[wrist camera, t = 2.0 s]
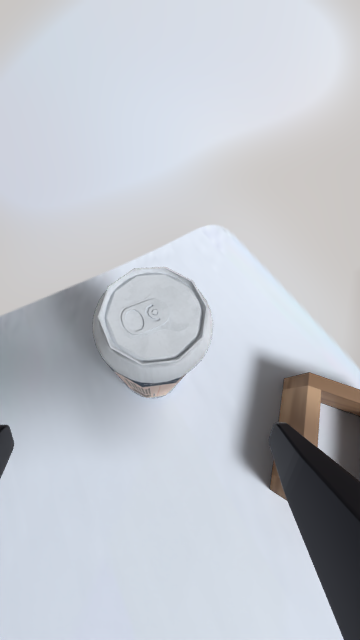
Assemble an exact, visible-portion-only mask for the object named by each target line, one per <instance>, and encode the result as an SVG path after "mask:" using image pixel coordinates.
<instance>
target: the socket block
mask: <svg viewBox="0 0 360 640" xmlns="http://www.w3.org/2000/svg"><path fill="white" fill-rule="evenodd" d="M320 403H323V404H326V405H329V406H331V407H334V408H337V409H340V410H343V411H346V412H349V413H352V414H355V415H358V416H360V390H359V389H356V388H353V387H350V386H348V385H345V384H342V383H339V382H336V381H333V380H330V379H327V378H324V377H321V376H318V375H316V374H313V373H310V372H309V373H305V374H301V375H297V376H293V377H289V378H284V384H283V392H282V399H281V407H280V415H279V422H284V423H287V424H289V425H290V426H291V427H293V428H294V429H295V430H296V431H297V432H299V433H300V434H301V435H302V436H304V437H305V438H306V439H307V440H309V441H310V442H311V443H312V444H314V445H315V446H316V447H318V431H319V416H320ZM270 490H272V491H273V492H275V493H276V494H278V495H279V496H281V497H282V498H284V499H285V500H287V498H286V496H285V493H284V490H283V487H282V484H281V481H280V478H279V475H278V471H277V468H276V465H275V461H274V460H273V468H272V475H271V483H270Z"/></svg>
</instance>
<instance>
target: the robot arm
mask: <svg viewBox="0 0 360 640" xmlns="http://www.w3.org/2000/svg"><path fill="white" fill-rule="evenodd" d="M269 445H270V448H271V452H272V455H273V458H274V461H275V465H276V468H277V471H278V475H279V478H280V481H281V484H282V487H283V490H284V493H285V496H286V498H287V501H288V503H289V506H290V508H291V511H292V513H293V516H294V518H295V521H296V523H297V525H298V528H299V530H300V533H301V535H302V538H303V540H304V543H305V545H306V548H307V550H308V552H309V555H310V557H311V560H312V562H313V565H314V567H315V570H316V572H317V575H318V577H319V580H320V582H321V584H322V587H323V589H324V592H325V594H326V597H327V599H328V602H329V604H330V607H331V609H332V611H333V614H334V616H335V619H336V621H337V624H338V626H339V629H340V631H341V634H342V636H343V639H344V640H360V481H358V480H357V479H356V478H355V477H353V476H352V475H351V474H350V473H348V472H347V471H346V470H345V469H343V468H342V467H341V466H340V465H338V464H337V463H336V462H335V461H333V460H332V459H331V458H330V457H329V456H327V455H326V454H325V453H324V452H322V451H321V450H320V449H319V448H317V447H316V446H315V445H314V444H312V443H311V442H310V441H309V440H307V439H306V438H305V437H304V436H302V435H301V434H300V433H299V432H297V431H296V430H295V429H294V428H293V427H291V426H290V425H289V424H287V423H284V422H277V423H275V424H274V425H273V428H272V431H271V434H270V437H269ZM13 447H14V440H13V437H12V434H11V430H10V427H9V426H8V425H0V478H1V476H2V474H3V471H4V469H5V467H6V464H7V462H8V460H9V458H10V455H11V453H12V451H13Z"/></svg>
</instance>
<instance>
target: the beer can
mask: <svg viewBox="0 0 360 640" xmlns="http://www.w3.org/2000/svg"><path fill="white" fill-rule="evenodd" d="M212 332H213V320H212V314H211V310H210V308H209V305H208V303H207V301H206V299H205V298H204V297H203V295H202V294H201V293H200V291H199V290H198V289H197V287H196V285H195V284H194V282H193V281H192V280H190V279H188V278H186V277H184V276H183V275H181V274H179V273H177V272H175V271H173V270H171V269H169V268H167V267H152V268H134V269H133V270H131V271H130V272H128V273H127V274H125V275H124V276H123V277H121V278H120V279H118V280H117V281H115V282H114V283H112V284H111V285H110V286H108V288H107V290H106V292H105V293H104V294H103V296H102V297H101V299H100V300H99V302H98V305H97V308H96V310H95V313H94V317H93V336H94V340H95V344H96V347H97V349H98V351H99V353H100V355H101V357H102V358H103V359H104V361H105V362H106V363H107V364H108V365H109V366H110V367H111V369H112V370H113V371H114V372H115V373H116V374H117V375H118V376H119V377H120V378H121V379H122V380H123V381H124V382H125V383H126V384H127V386H128V387H129V388H130V389H131V390H132V391H134V392H135V393H136V394H138V395H140V396H142V397H145V398H158V397H162V396H165V395H167V394H168V393H170V392H171V391H172V390H173V389H174V388H175V387H176V385H177V384H178V382H179V381H180V380H181V379H182V378H183V377H184V376H185V375H186V374H187V373H188V372H189V371H191V370H192V369H193V368H194V367H195V366H196V365H197V364H198V363H199V362H200V361H201V360H202V359H203V357H204V356H205V354H206V352H207V351H208V348H209V346H210V343H211V338H212Z"/></svg>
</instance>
